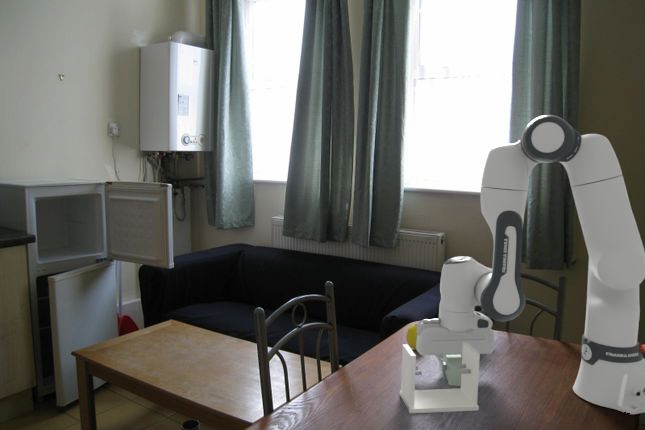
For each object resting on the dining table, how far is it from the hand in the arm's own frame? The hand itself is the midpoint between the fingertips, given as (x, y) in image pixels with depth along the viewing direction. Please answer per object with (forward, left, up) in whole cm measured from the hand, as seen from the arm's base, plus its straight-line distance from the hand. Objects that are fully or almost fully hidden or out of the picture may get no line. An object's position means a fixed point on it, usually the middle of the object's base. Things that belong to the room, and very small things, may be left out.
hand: (453, 369), depth 135 cm
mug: (-13, -21, -2) cm, 25 cm away
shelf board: (0, 0, -2) cm, 2 cm away
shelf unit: (+9, +14, -2) cm, 17 cm away
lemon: (+5, -18, -2) cm, 19 cm away
